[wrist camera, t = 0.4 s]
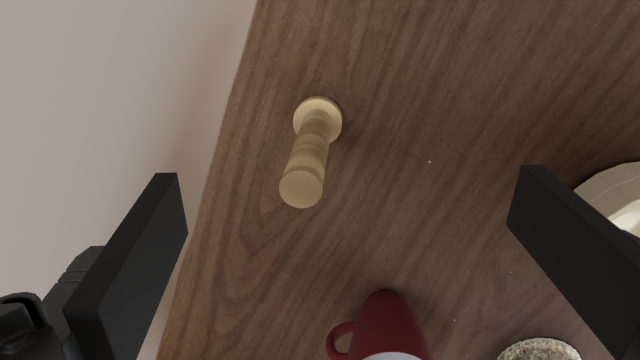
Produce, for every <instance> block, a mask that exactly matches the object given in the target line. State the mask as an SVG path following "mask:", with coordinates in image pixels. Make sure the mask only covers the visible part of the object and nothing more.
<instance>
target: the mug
mask: <svg viewBox="0 0 640 360" xmlns="http://www.w3.org/2000/svg"><path fill="white" fill-rule="evenodd" d="M352 331H354V332H353V337H352V341H351V345H350V349H349V352H348V353H340V352H338V351H337V350H336V349H335V343H336V341H337V340H338V338H339V337H341V336H342V335H344V334H346V333H349V332H352ZM326 351H327V354H328V356H329V358H330V359H331V360H433V357H432V353H431V350H430V347H429V345H428V342H427V340H426V337H425V335H424V333H423V331H422V328H421V326H420V324H419V321H418V319H417V317H416V315H415V313H414V311H413V310H412V308H411V307H410V306H409V305H408V304H407V303H406V302H405V301H404V300H403V299H402V298H400V297H399V296H398V295H397V294H395V293H393V292H390V291H380V292H376V293H374V294H373V295H371V296H370V297H369V299H368V300H367V301H366V302H365V304H364V305H363V306H362V308H361V309H360V311H359V313H358V316H357V318H356V321H353V322H347V323H343V324H340V325H338V326H336V327H335V328H333V329H332V330H331V331H330V333H329V334H328V336H327V340H326Z"/></svg>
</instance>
